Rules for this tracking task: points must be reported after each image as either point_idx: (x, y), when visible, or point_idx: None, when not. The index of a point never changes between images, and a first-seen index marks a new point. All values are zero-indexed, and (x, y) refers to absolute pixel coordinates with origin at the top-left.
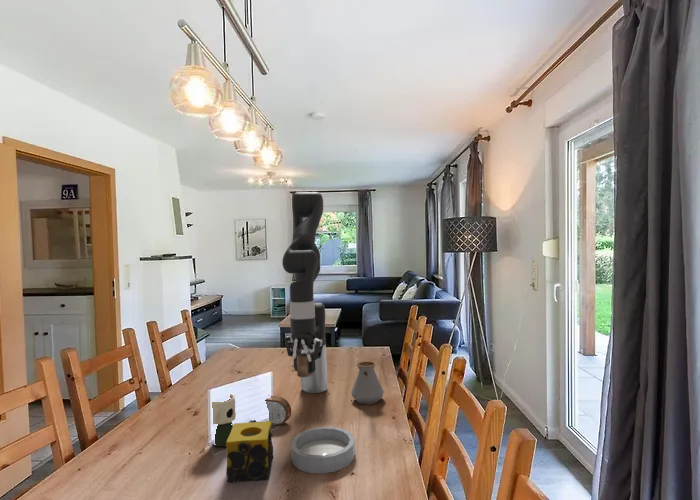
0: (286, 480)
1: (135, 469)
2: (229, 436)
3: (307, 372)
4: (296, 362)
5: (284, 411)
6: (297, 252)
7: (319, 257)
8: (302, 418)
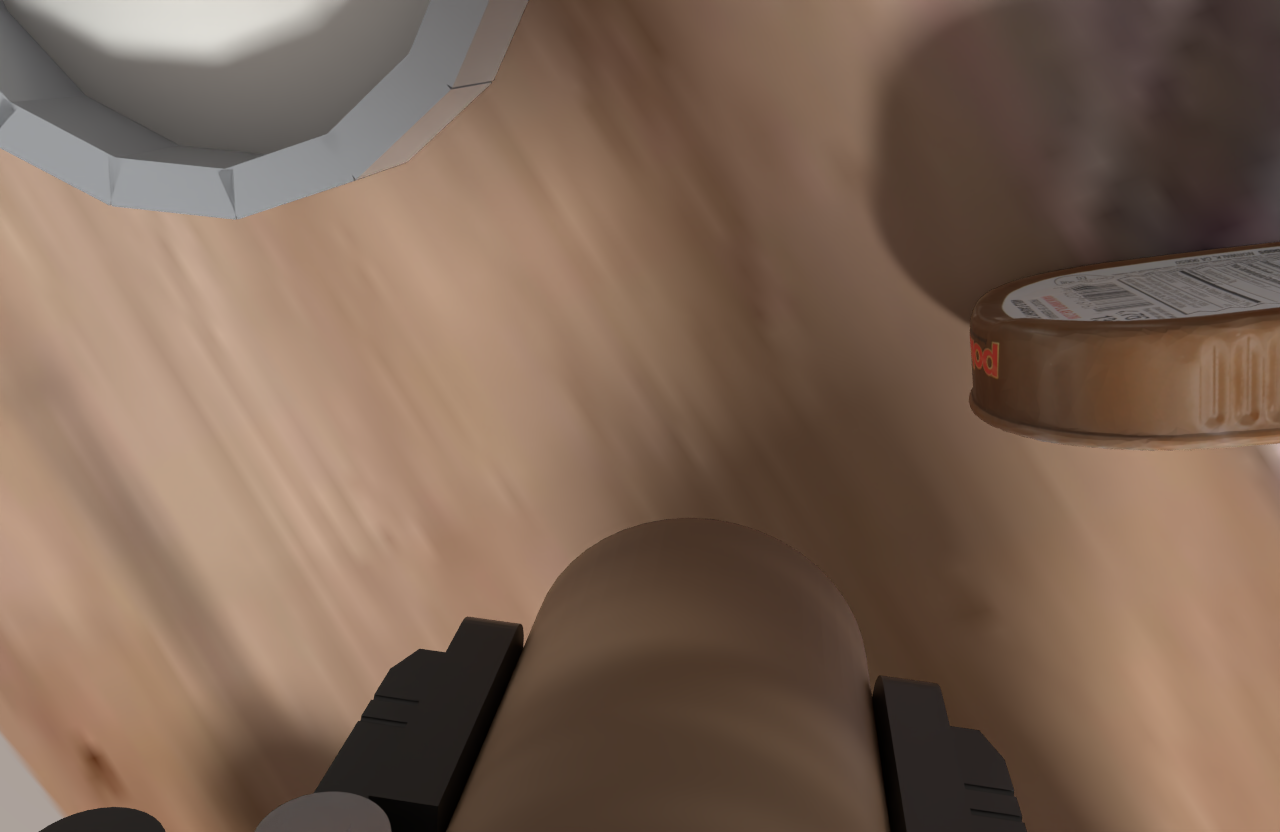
0: None
1: None
2: None
3: (538, 625)
4: (904, 823)
5: (1025, 317)
6: None
7: None
8: (896, 506)
